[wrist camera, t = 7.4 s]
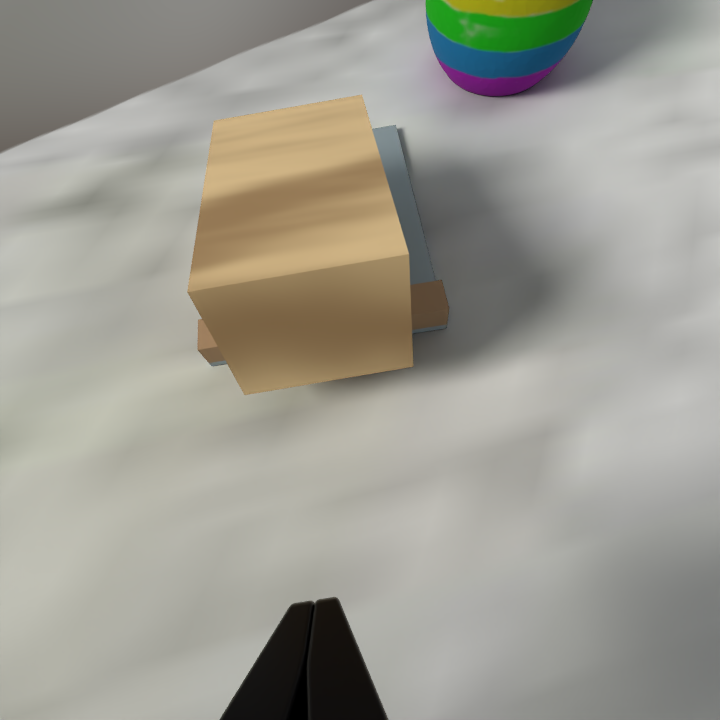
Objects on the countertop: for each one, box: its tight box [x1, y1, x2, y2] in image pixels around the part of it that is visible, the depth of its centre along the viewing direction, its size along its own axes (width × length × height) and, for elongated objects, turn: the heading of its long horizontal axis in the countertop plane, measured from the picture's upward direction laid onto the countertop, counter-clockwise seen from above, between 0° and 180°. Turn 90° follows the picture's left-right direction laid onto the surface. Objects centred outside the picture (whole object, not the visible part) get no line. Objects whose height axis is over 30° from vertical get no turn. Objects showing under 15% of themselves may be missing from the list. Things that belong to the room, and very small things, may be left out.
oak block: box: [187, 95, 413, 395], centre depth 17 cm, size 5×6×10 cm
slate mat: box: [198, 125, 449, 366], centre depth 22 cm, size 12×10×2 cm
